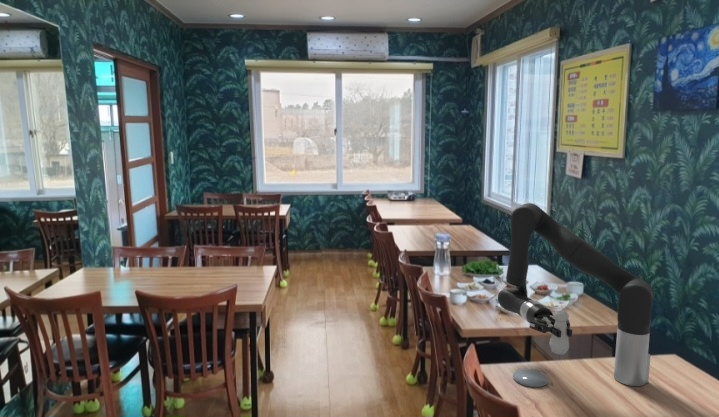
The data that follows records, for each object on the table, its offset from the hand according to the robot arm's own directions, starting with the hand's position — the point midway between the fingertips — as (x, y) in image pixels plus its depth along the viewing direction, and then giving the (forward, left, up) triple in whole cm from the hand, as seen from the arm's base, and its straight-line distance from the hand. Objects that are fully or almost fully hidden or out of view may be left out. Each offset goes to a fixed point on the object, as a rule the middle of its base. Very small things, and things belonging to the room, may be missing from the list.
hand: (565, 334), depth 152 cm
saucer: (+5, -11, -20) cm, 23 cm away
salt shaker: (0, -3, -7) cm, 8 cm away
